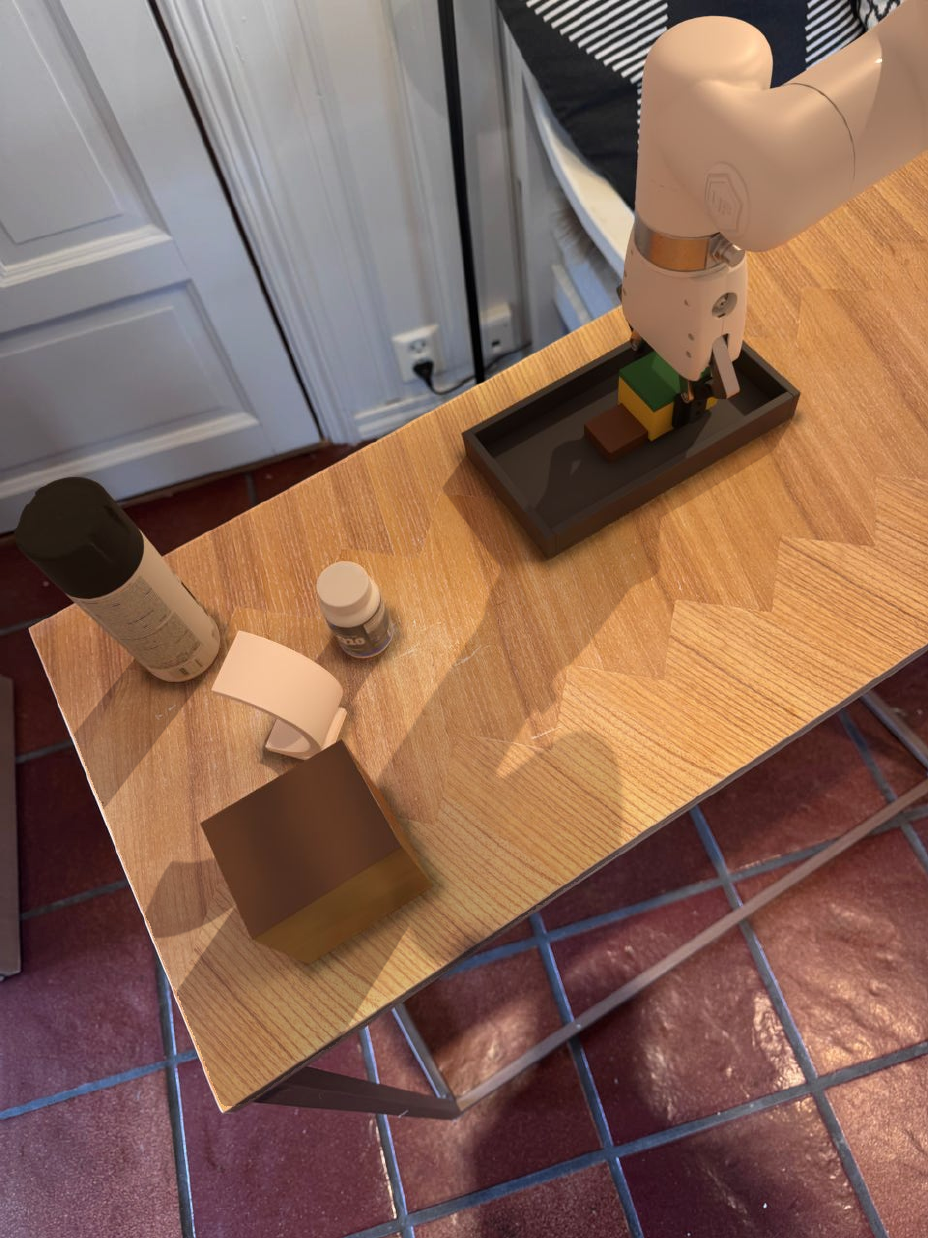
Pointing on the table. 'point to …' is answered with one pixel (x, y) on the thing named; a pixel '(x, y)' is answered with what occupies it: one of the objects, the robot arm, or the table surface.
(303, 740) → the cream curved piece
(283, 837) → the brown wooden cube
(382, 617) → the pill bottle
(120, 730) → the table surface
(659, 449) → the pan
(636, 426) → the reddish brown block
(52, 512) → the spray can
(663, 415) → the sponge
